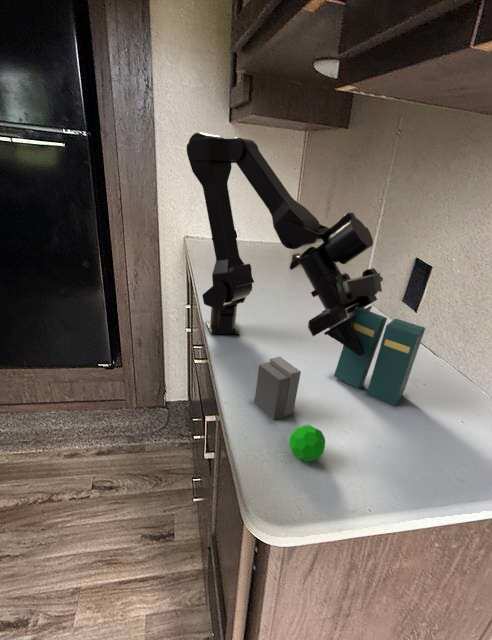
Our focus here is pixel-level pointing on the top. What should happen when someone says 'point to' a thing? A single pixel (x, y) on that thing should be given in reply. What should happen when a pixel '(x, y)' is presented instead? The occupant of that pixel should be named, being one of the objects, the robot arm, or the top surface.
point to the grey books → (277, 387)
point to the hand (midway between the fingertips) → (366, 351)
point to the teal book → (369, 335)
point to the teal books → (395, 360)
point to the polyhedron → (307, 443)
